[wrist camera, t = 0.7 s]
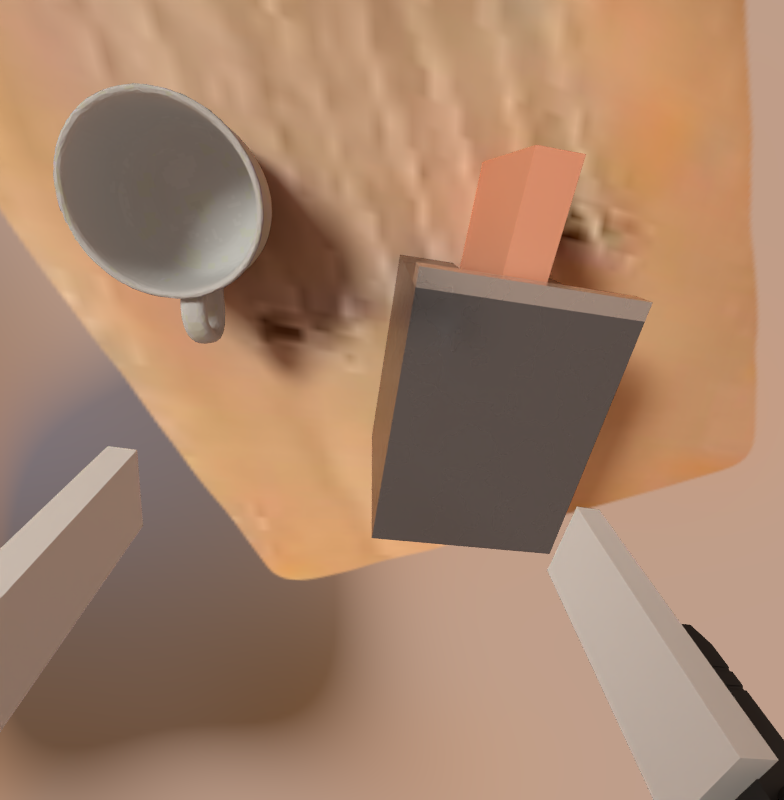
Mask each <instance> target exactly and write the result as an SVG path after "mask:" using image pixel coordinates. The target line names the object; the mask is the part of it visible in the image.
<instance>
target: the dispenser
mask: <svg viewBox="0 0 784 800" xmlns="http://www.w3.org/2000/svg"><path fill="white" fill-rule="evenodd" d="M652 303H653V302H650V301H647V300H645V299H642V298H639V297H637V296H631V295H625V294H618V293H612V292H606V291H599V290H593V289H587V288H580V287H574V286H567V285H563V284H561V283H559V282H557V281H555V280H552V279H550V278H549V279H548V282H542V281H535V280H529V279H523V278H516V277H510V276H504V275H497V274H491V273H484V272H478V271H472V270H465V269H459V268H458V267H457V266H456V265H454V264H453V263H449V262H443V261H436V260H430V259H424V258H417V257H411V256H405V255H400V259H399V266H398V272H397V279H396V285H395V292H394V298H393V305H392V311H391V318H390V324H389V330H388V337H387V343H386V350H385V356H384V363H383V369H382V376H381V382H380V389H379V395H378V402H377V408H376V414H375V421H374V427H373V434H372V538H378V539H389V540H400V541H412V542H423V543H434V544H445V545H456V546H468V547H479V548H490V549H501V550H513V551H524V552H535V553H546V554H549V553H550V551H551V549H552V546H553V544H554V541H555V539H556V537H557V534H558V532H559V529H560V527H561V524H562V522H563V519H564V517H565V515H566V512H567V510H568V507H569V505H570V502H571V500H572V498H573V495H574V493H575V490H576V488H577V485H578V483H579V481H580V478H581V476H582V473H583V471H584V468H585V466H586V463H587V461H588V459H589V456H590V454H591V451H592V449H593V446H594V444H595V442H596V439H597V437H598V434H599V432H600V429H601V427H602V425H603V422H604V420H605V417H606V415H607V412H608V410H609V408H610V405H611V403H612V400H613V398H614V395H615V393H616V390H617V388H618V386H619V383H620V381H621V378H622V376H623V373H624V371H625V369H626V366H627V364H628V361H629V359H630V356H631V354H632V352H633V349H634V347H635V344H636V342H637V339H638V337H639V334H640V332H641V330H642V327H643V325H644V322H645V320H646V317H647V315H648V313H649V310H650V308H651V305H652Z"/></svg>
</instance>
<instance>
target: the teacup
mask: <svg viewBox="0 0 784 800" xmlns="http://www.w3.org/2000/svg"><path fill="white" fill-rule="evenodd" d="M53 176H54V185H55V189H56V195H57V199H58V203H59V207H60V210H61V211H62V213H63V216H64V219H65V221H66V223H67V224H68V225H69V228H70V230H71V231H72V233H73V235H74V237H75V239H76V240H77V241H78V243H79V244H80V246H81V247H82V248H83V250H84V251H85V252H86V253H87V255H88V256H89V257H90V258H91V259H92V260H93V261H94V262H95V263H96V264H97V265H99V266H100V267H101V268H102V269H103V270H104V271H106V272H107V273H108V274H109V275H111V276H112V277H114V278H115V279H117V280H118V281H120V282H121V283H123V284H126V285H127V286H129V287H131V288H133V289H136V290H138V291H141V292H144V293H147V294H151V295H155V296H160V297H168V298H176V299H181V315H182V320H183V324H184V327H185V330H186V332H187V333H188V335H189V337H190V338H191V339H192V340H194V341H195V342H198V343H204V344H205V343H212V342H216V341H217V340H219V339H220V338H221V336H222V334H223V331H224V326H225V303H224V287H226V286H227V285H229V284H231V283H232V282H234V281H235V280H236V279H237V278H238V277H240V276H241V274H242V273H243V272H244V271H245V270H246V269H248V268H249V267H250V266H251V265H252V264H253V263H254V261H255V260H256V259H257V258H258V256H259V255H260V253H261V252H262V250H263V248H264V246H265V244H266V242H267V239H268V236H269V232H270V227H271V221H272V203H271V196H270V191H269V187H268V184H267V181H266V178H265V175H264V173H263V171H262V169H261V167H260V165H259V163H258V162H257V160H256V158H255V157H254V155H253V153H252V152H251V151H250V150H249V148H248V147H247V146H246V144H245V143H244V142H243V141H242V140H241V139H240V138H239V137H238V136H237V135H236V134H235V133H234V132H233V131H232V130H231V129H230V128H228V127H227V126H226V125H225V124H224V123H223V122H222V121H221V120H220V119H219V118H218V117H217V116H216V115H214V114H213V113H212V112H211V111H210V110H209V109H207V108H206V107H204V106H202V105H201V104H199V103H198V102H196V101H194V100H192V99H191V98H189V97H187V96H185V95H183V94H181V93H177V92H175V91H172V90H169V89H167V88H162V87H158V86H153V85H147V84H134V83H132V84H125V85H118V86H114V87H110V88H107V89H104V90H101V91H99V92H97V93H95V94H93V95H92V96H90V97H88V98H87V99H85V100H84V101H83V102H82V103H81V104H80V105H79V106H78V107H77V108H76V109H75V110H74V111H73V112H72V113H71V115H70V117H69V118H68V119H67V120H66V123H65V125H64V127H63V128H62V130H61V133H60V135H59V138H58V141H57V144H56V148H55V155H54V172H53Z"/></svg>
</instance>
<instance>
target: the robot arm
mask: <svg viewBox="0 0 784 800" xmlns="http://www.w3.org/2000/svg"><path fill="white" fill-rule="evenodd" d="M140 496H141V495H140V483H139V470H138V457H137V450H133V449H125V448H118V447H110V446H108V447H107V448H106V449H104V450H103V451H102V452H101V453H100V454H99V455H98V456H97V457H96V458H95V459H94V460H93V461H92V462H91V463H90V464H89V465H88V466H87V467H86V468H84V469H83V470H82V471H81V472H80V473H79V474H78V475H77V476H76V477H75V478H74V479H73V480H72V481H71V482H70V483H69V484H68V485H67V486H66V487H64V489H62V490H61V491H60V492H59V493H58V494H57V495H56V496H55V497H54V498H53V499H52V500H51V501H50V502H49V503H48V504H47V505H46V506H45V507H43V508H42V510H40V511H39V512H38V513H37V514H36V515H35V516H34V517H33V518H32V519H31V520H30V521H29V522H28V523H27V524H26V525H25V526H24V527H22V529H20V530H19V531H18V532H17V533H16V534H15V535H14V536H13V537H12V538H11V539H10V540H9V541H8V542H7V543H6V544H5V545H4V546H3V547H1V549H0V731H1V730H2V729H3V727H4V725H5V724H6V723H7V721H8V720H9V718H10V717H11V716H12V714H13V713H14V711H15V710H16V708H17V707H18V705H19V704H20V703H21V701H22V699H23V698H24V697H25V695H26V694H27V692H28V691H29V690H30V688H31V687H32V685H33V684H34V682H35V681H36V679H37V678H38V677H39V675H40V674H41V672H42V671H43V669H44V668H45V666H46V665H47V664H48V662H49V661H50V659H51V658H52V656H53V655H54V653H55V652H56V651H57V649H58V648H59V646H60V645H61V643H62V642H63V640H64V639H65V638H66V636H67V635H68V633H69V632H70V630H71V629H72V627H73V626H74V624H75V623H76V622H77V620H78V619H79V617H80V616H81V614H82V613H83V612H84V610H85V609H86V607H87V606H88V604H89V603H90V601H91V600H92V599H93V597H94V595H95V594H96V593H97V591H98V590H99V588H100V587H101V586H102V584H103V583H104V581H105V580H106V578H107V577H108V576H109V574H110V573H111V571H112V570H113V568H114V567H115V565H116V564H117V563H118V561H119V560H120V558H121V556H122V555H123V554H124V552H125V551H126V549H127V548H128V547H129V545H130V544H131V542H132V541H133V539H134V538H135V536H136V535H137V534H138V532H139V531H140V529H141V528H142V526H143V520H142V508H141V497H140ZM547 571H548V573H549V575H550V577H551V579H552V582H553V584H554V586H555V588H556V590H557V593H558V595H559V597H560V599H561V601H562V603H563V605H564V608H565V610H566V612H567V614H568V616H569V618H570V620H571V623H572V625H573V627H574V629H575V631H576V633H577V636H578V638H579V640H580V642H581V644H582V646H583V648H584V651H585V653H586V655H587V657H588V660H589V661H590V664H591V666H592V668H593V670H594V672H595V675H596V677H597V679H598V681H599V683H600V685H601V688H602V690H603V692H604V694H605V696H606V698H607V700H608V703H609V705H610V707H611V709H612V711H613V714H614V716H615V718H616V720H617V722H618V724H619V727H620V729H621V731H622V733H623V735H624V737H625V740H626V742H627V744H628V746H629V748H630V750H631V752H632V755H633V756H634V759H635V761H636V763H637V765H638V767H639V770H640V772H641V774H642V776H643V778H644V781H645V782H646V785H647V787H648V789H649V791H650V794H651V795H652V798H653V800H784V740H783V739H782V737H781V736H780V735H779V733H778V732H777V731H776V729H775V728H774V727H773V725H772V724H771V723H770V721H769V720H768V719H767V717H766V716H765V715H764V713H763V712H762V711H761V709H760V708H759V707H758V705H757V704H756V703H755V701H754V700H753V699H752V697H751V696H750V695H749V693H748V692H747V691H745V690H743V686H742V684H741V683H740V681H739V680H738V679H737V677H736V676H735V675H734V673H733V672H731V671H729V667H728V665H727V664H726V663H725V661H724V660H723V659H722V657H721V656H720V655H719V653H718V652H717V651H716V649H715V648H714V647H713V646H712V644H711V643H710V642H708V641H707V640H706V639H705V638H704V637H703V636H702V635H701V634H700V633H699V632H697V631H696V630H695V629H694V628H693V627H692V626H691V625H686V624H681V623H680V622H679V620H678V619H677V617H676V616H675V615H674V613H673V612H672V610H671V609H670V608H669V606H668V605H667V603H666V602H665V601H664V599H663V598H662V596H661V595H660V594H659V592H658V591H657V590H656V588H655V587H654V585H653V584H652V582H651V581H650V580H649V578H648V577H647V575H646V574H645V573H644V571H643V570H642V568H641V567H640V566H639V564H638V563H637V561H636V560H635V559H634V557H633V556H632V555H631V553H630V552H629V550H628V549H627V548H626V546H625V545H624V543H623V542H622V541H621V539H620V538H619V537H618V535H617V534H616V532H615V531H614V529H613V528H612V527H611V525H610V524H609V522H608V521H607V520H606V518H605V517H604V515H603V514H602V513H601V511H600V510H598V509H591V508H583V507H576V509H575V511H574V514H573V516H572V518H571V520H570V522H569V524H568V526H567V529H566V531H565V533H564V535H563V537H562V540H561V542H560V544H559V546H558V548H557V550H556V552H555V554H554V556H553V559H552V561H551V563H550V565H549V567H548V569H547Z"/></svg>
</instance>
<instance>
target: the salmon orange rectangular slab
mask: <svg viewBox="0 0 784 800" xmlns="http://www.w3.org/2000/svg"><path fill="white" fill-rule="evenodd" d="M585 156H586V154H582V153H577V152H571V151H566V150H561V149H556V148H550V147H545V146H540V145H534V146H531V147H528V148H525V149H522V150H518V151H515V152H512V153H509V154H506V155H503V156H500V157H497V158H494V159H491V160H487V161H484V162H483V163H482V167H481V172H480V177H479V181H478V186H477V191H476V195H475V200H474V205H473V209H472V214H471V219H470V223H469V228H468V233H467V238H466V242H465V247H464V252H463V256H462V261H461V266H460V269H465V270H472V271H478V272H484V273H491V274H497V275H504V276H510V277H516V278H523V279H529V280H535V281H542V282H548V279H549V275H550V272H551V269H552V265H553V262H554V259H555V255H556V252H557V249H558V245H559V242H560V239H561V235H562V232H563V229H564V225H565V222H566V219H567V215H568V212H569V209H570V206H571V202H572V199H573V196H574V192H575V189H576V186H577V182H578V179H579V176H580V172H581V169H582V166H583V162H584V159H585Z"/></svg>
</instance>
